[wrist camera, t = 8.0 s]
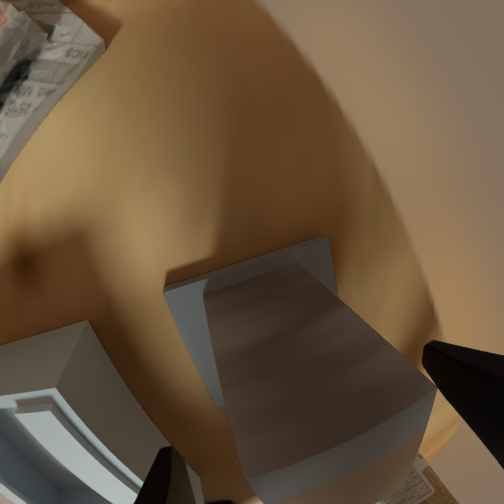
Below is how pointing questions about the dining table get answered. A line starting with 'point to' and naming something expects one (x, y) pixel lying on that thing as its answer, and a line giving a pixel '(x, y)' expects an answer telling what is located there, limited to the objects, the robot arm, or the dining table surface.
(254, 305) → the block
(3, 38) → the packaged product
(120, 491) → the grey open tray
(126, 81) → the dining table surface
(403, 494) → the sprinkles bottle
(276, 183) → the dining table surface
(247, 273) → the coaster
